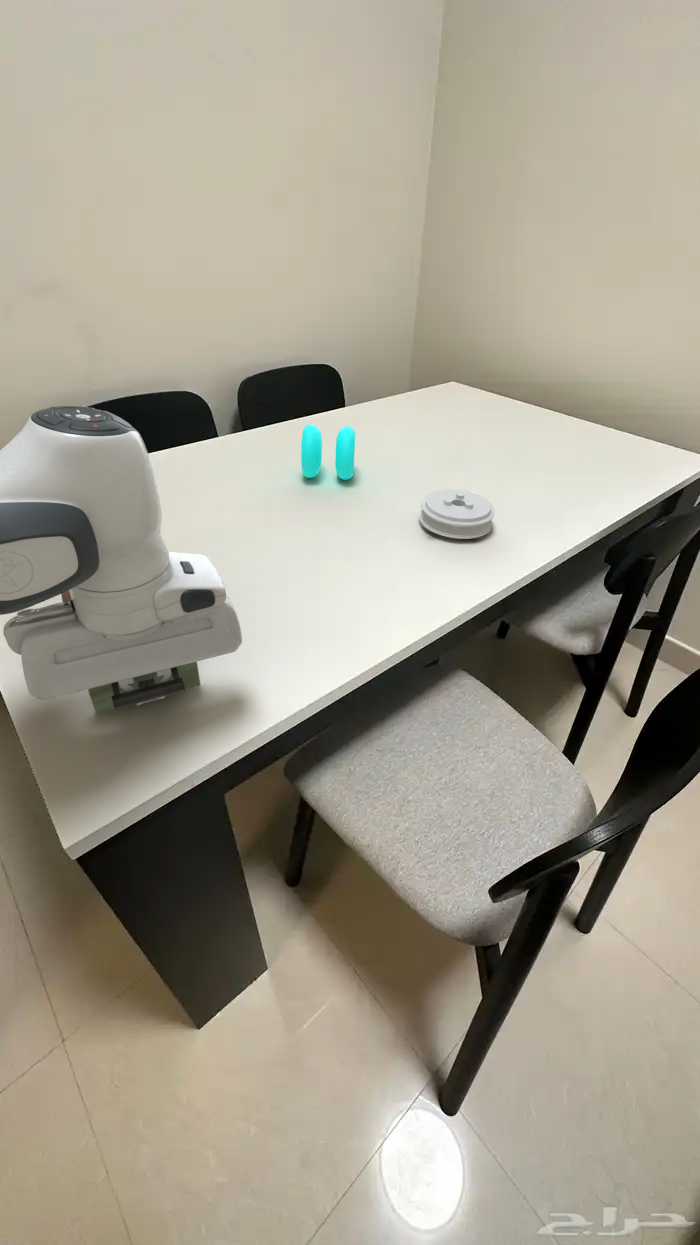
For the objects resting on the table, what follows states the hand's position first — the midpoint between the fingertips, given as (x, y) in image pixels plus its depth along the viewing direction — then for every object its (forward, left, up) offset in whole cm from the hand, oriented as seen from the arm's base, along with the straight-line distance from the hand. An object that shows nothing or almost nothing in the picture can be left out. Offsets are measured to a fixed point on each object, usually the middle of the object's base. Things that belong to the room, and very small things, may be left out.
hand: (150, 697), depth 61 cm
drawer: (0, +7, -3) cm, 7 cm away
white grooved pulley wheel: (+56, +26, -4) cm, 62 cm away
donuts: (+43, +52, -4) cm, 68 cm away
